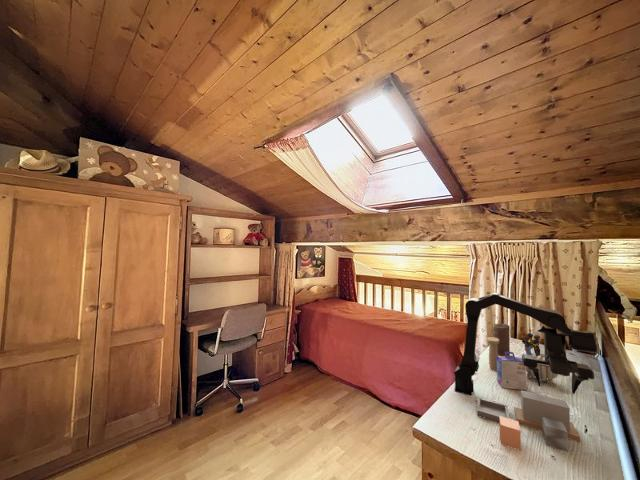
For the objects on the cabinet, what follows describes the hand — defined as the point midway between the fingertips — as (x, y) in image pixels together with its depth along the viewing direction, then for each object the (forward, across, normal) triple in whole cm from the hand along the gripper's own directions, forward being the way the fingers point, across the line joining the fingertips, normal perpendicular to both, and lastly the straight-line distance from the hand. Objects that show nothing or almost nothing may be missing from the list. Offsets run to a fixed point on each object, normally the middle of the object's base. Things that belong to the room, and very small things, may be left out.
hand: (555, 389), depth 93 cm
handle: (+10, -18, +33) cm, 39 cm away
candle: (+10, -14, +45) cm, 48 cm away
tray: (+10, -20, -9) cm, 24 cm away
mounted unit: (+10, -5, -7) cm, 13 cm away
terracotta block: (+10, -16, -23) cm, 30 cm away
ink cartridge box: (+10, -12, +18) cm, 24 cm away
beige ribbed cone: (+10, 0, +31) cm, 33 cm away
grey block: (+10, -4, -16) cm, 19 cm away
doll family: (+10, +1, +61) cm, 62 cm away
